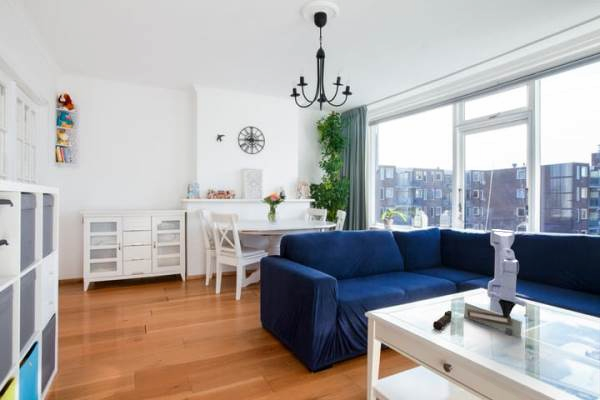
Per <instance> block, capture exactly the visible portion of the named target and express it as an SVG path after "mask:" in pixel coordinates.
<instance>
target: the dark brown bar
mask: <svg viewBox="0 0 600 400" xmlns="http://www.w3.org/2000/svg"><path fill="white" fill-rule="evenodd" d="M452 316H453V313H452V311H451V310H447V311H445V312H444V315H443V316H440V317H439V319H437V320H436V321H433V324H432V325H433V329H434V330H437V331H442V330H443V328H444V326H445V325H447V324H449V323H451V321H452V318H453V317H452Z"/></svg>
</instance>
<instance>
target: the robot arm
mask: <svg viewBox="0 0 600 400" xmlns="http://www.w3.org/2000/svg"><path fill="white" fill-rule="evenodd" d="M489 235H490V246H493V248H494V278H493V279H492V280H489V281H488V283H487V289H486V291H487V292H486V293H487V297H488V298H489V299H490V300H489V301H490V302H489V310H491V311H494V312H497V313H500V314H503V317H505V318H507V317H508V316H511V313H512V311H513V309H514V307H515V306H516V305H519V306H521V307H526V306H527V301H526V300H523V299H520V298H518V297H516V290H517V275H518V274H519V271H520V264H519V260H517V259H516V256H515V252H514V250H513V249H511V247H512V245H513V244H514V241H515V231H514V230H507V229H494V228H492V229H491V230H490V234H489Z"/></svg>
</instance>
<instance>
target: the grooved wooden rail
mask: <svg viewBox="0 0 600 400" xmlns="http://www.w3.org/2000/svg"><path fill="white" fill-rule="evenodd" d="M467 313H468V319H470V318H472V319H471V320H473V319H477V320H482V321H487V322H493V323H498V324H503V325H508V326H512V322H511V317H512V316H511V315H510V316H508V317H507V318H505V317H503V315H501V314H495V313H489V312H483V311H477V310H471V309H467Z"/></svg>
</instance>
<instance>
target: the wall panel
mask: <svg viewBox="0 0 600 400" xmlns="http://www.w3.org/2000/svg"><path fill="white" fill-rule="evenodd" d="M463 309H464V310H463V316H464V318H468V313H467V309H471V310H477V311H483V312H489V313H495V314H500V313H497V312H494V311H491V310H490V309H488V308H485V307H482V306H480V305H479V306H478V305H476V304H473V303H470V302H467V301H465V302H464V308H463ZM501 315H503V314H501ZM468 319H471V320H473V321H476V322H478V323H481V324H483V325H486V326H489V327H491V328H495V329H497V330H500V331H501V332H504V334H505V335H507V336H515V337H519V338H521V337H522V324H523V320H520V319H517V318H515V317H512V316H511V322H512V326H508V325H503V324H498V323H493V322H487V321H482V320H477V319H472V318H468Z"/></svg>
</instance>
